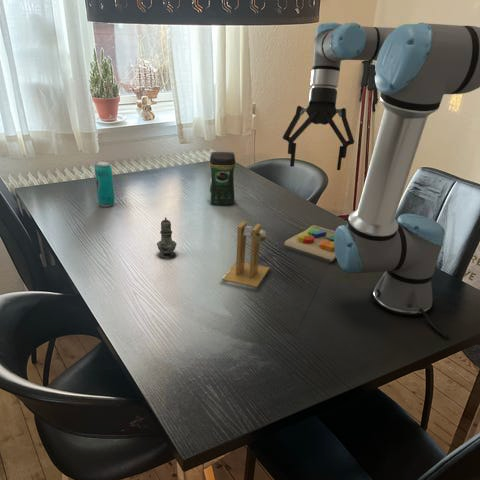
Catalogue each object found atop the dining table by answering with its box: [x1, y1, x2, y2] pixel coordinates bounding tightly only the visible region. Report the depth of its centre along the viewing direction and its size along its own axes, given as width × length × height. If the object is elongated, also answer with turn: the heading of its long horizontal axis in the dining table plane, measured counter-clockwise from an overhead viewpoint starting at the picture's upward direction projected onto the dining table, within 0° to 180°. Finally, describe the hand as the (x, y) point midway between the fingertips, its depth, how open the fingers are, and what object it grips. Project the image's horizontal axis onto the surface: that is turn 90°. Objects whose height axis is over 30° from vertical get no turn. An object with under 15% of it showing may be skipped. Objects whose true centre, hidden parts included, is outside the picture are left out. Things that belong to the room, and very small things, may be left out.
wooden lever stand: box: [221, 220, 271, 289], centre depth 136 cm, size 12×10×16 cm
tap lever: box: [243, 226, 267, 243], centre depth 139 cm, size 15×4×4 cm, turn 162°
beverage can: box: [94, 160, 115, 208], centre depth 177 cm, size 6×6×15 cm
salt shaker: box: [156, 216, 177, 260], centre depth 147 cm, size 6×6×12 cm
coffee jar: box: [208, 151, 237, 206], centre depth 184 cm, size 10×8×19 cm
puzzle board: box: [283, 225, 337, 263], centre depth 160 cm, size 18×19×4 cm
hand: (315, 168), depth 145 cm, fingers open, 13 cm apart
